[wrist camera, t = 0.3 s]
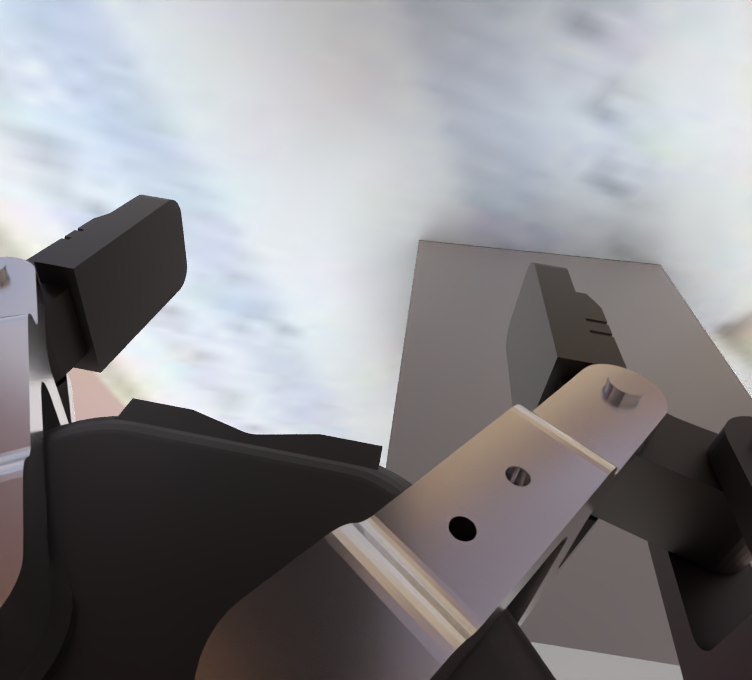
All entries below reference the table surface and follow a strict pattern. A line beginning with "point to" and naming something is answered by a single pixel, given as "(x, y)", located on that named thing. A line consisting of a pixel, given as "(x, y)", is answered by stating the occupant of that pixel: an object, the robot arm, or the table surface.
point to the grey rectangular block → (493, 398)
